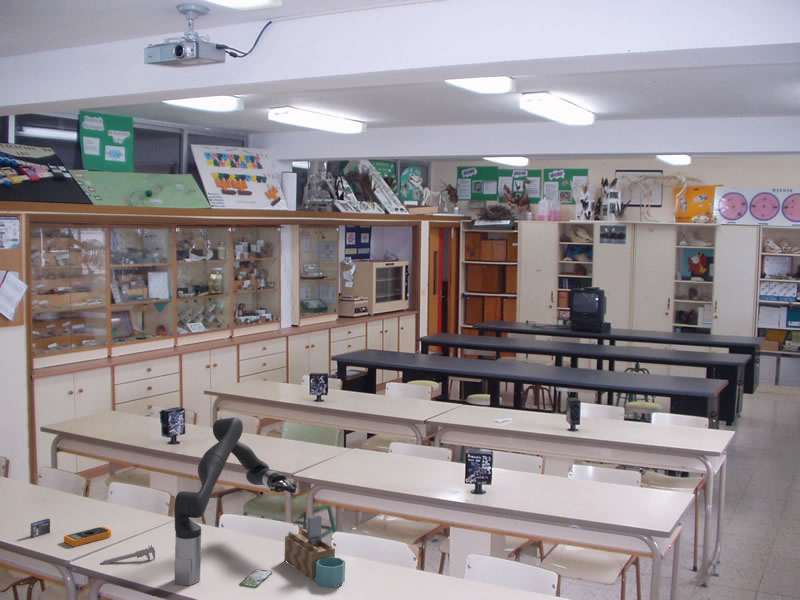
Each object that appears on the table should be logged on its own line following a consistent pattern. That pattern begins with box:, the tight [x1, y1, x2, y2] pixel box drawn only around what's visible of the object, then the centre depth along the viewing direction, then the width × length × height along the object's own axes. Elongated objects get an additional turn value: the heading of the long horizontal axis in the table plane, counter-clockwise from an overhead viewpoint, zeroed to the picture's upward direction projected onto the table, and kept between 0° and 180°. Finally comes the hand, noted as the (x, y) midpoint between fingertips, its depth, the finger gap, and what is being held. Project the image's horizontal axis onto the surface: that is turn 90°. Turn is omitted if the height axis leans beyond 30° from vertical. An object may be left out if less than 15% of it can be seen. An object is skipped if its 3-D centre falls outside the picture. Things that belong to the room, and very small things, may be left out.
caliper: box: [99, 544, 156, 565], centre depth 314 cm, size 20×1×6 cm, turn 108°
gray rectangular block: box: [306, 514, 323, 546], centre depth 310 cm, size 3×5×11 cm, turn 126°
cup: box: [315, 556, 346, 588], centre depth 301 cm, size 10×10×8 cm
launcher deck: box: [283, 528, 336, 580], centre depth 314 cm, size 22×10×12 cm, turn 36°
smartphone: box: [238, 568, 273, 589], centre depth 301 cm, size 7×1×15 cm
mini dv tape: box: [30, 518, 51, 539], centre depth 340 cm, size 8×2×6 cm, turn 150°
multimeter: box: [63, 526, 112, 548], centre depth 336 cm, size 9×18×3 cm, turn 141°
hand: (293, 490), depth 324 cm, fingers closed
